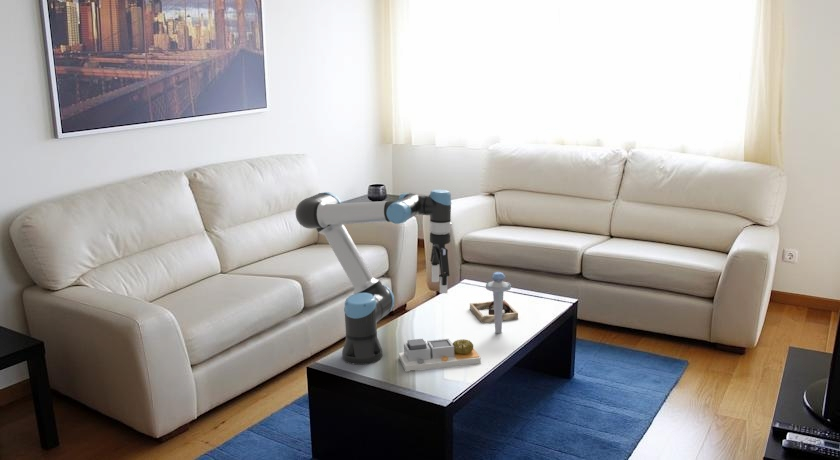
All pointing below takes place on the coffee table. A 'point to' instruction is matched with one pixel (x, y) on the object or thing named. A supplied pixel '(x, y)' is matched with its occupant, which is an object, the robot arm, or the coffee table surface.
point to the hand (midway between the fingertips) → (439, 287)
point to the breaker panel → (435, 357)
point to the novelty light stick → (498, 297)
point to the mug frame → (489, 318)
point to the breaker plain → (416, 344)
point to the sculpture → (463, 346)
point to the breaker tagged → (440, 344)
